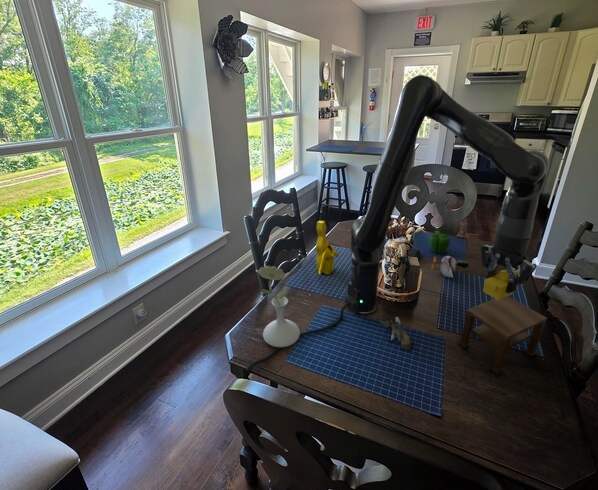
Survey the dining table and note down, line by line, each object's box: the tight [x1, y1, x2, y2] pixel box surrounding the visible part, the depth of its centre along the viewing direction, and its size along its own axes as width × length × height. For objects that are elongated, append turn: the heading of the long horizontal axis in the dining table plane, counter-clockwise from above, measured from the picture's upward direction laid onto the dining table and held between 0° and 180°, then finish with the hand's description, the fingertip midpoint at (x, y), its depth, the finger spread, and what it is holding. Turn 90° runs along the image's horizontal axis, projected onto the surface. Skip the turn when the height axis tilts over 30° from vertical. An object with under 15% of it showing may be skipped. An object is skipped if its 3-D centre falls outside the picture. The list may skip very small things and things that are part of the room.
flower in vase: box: [257, 265, 301, 349], centre depth 96 cm, size 13×11×25 cm
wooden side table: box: [458, 296, 548, 375], centre depth 91 cm, size 16×12×13 cm
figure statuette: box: [315, 220, 340, 275], centre depth 132 cm, size 18×8×22 cm, turn 148°
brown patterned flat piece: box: [379, 239, 422, 260], centre depth 147 cm, size 15×22×5 cm
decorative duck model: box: [430, 255, 470, 279], centre depth 129 cm, size 15×8×15 cm
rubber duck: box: [482, 269, 515, 300], centre depth 88 cm, size 8×5×6 cm, turn 116°
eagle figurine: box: [380, 316, 413, 350], centre depth 97 cm, size 8×7×9 cm
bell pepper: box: [429, 230, 451, 254], centre depth 147 cm, size 8×8×10 cm
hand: (500, 287), depth 88 cm, fingers closed on rubber duck, 4 cm apart
